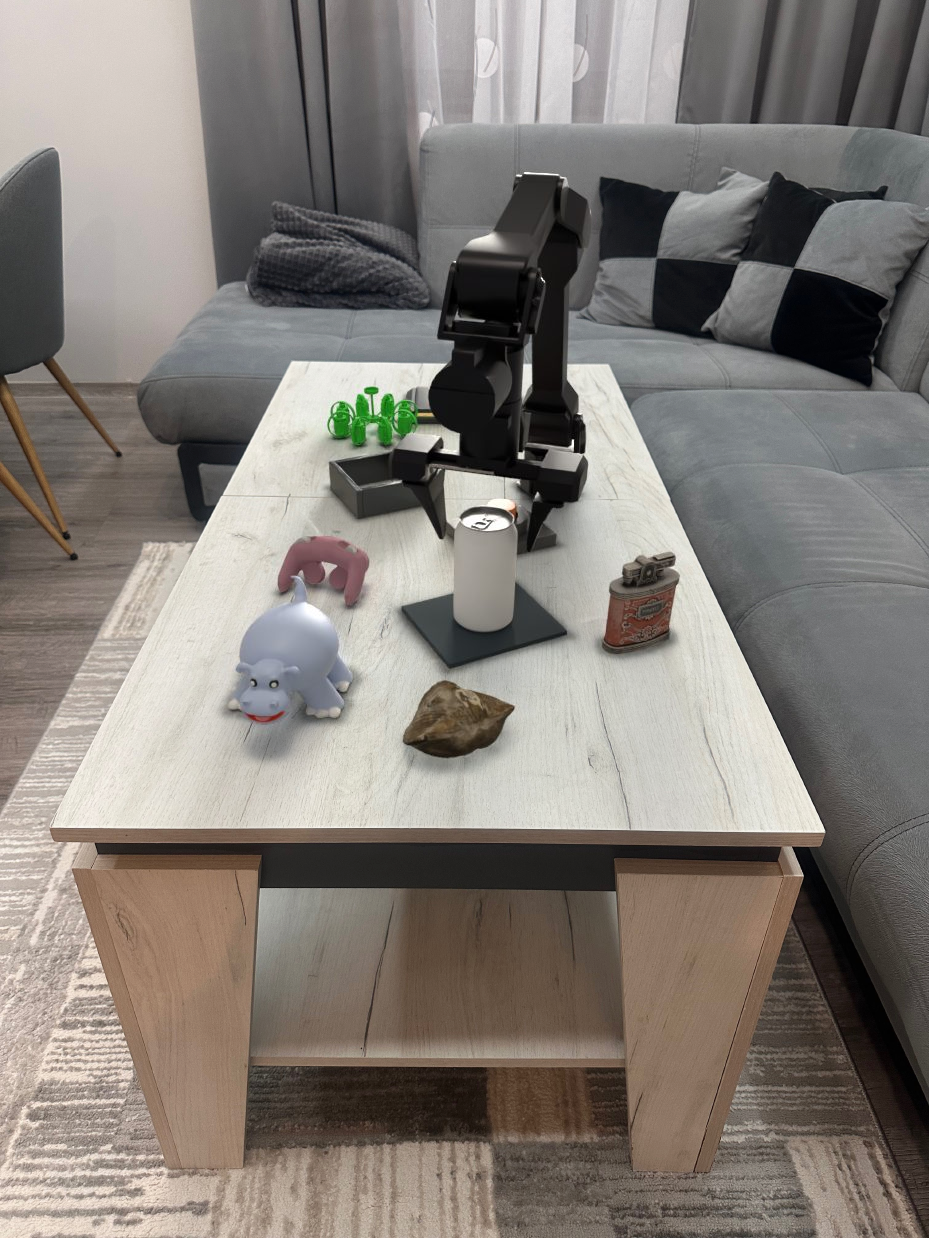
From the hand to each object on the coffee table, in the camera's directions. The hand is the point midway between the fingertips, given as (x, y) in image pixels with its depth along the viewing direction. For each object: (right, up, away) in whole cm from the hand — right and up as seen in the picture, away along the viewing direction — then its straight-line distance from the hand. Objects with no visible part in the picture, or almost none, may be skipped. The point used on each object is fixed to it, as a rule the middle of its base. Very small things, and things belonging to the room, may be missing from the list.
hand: (485, 543), depth 90 cm
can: (0, -8, +5) cm, 9 cm away
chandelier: (-17, +22, +51) cm, 58 cm away
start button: (+2, +5, +20) cm, 20 cm away
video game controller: (-18, -4, +11) cm, 21 cm away
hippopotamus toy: (-19, -16, -6) cm, 25 cm away
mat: (0, -8, +5) cm, 10 cm away
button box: (+2, +2, +21) cm, 22 cm away
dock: (-14, +9, +31) cm, 35 cm away
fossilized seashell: (-3, -19, -11) cm, 22 cm away
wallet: (-2, +28, +61) cm, 67 cm away
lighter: (+16, -10, +3) cm, 19 cm away
